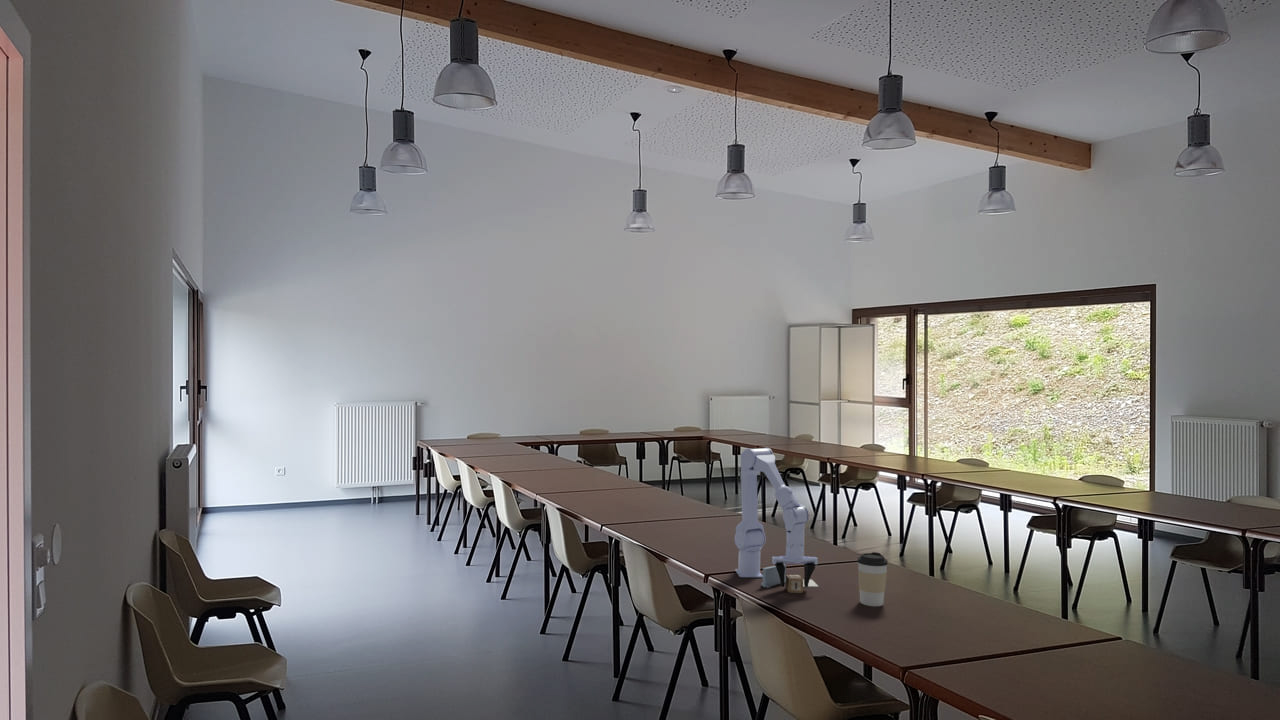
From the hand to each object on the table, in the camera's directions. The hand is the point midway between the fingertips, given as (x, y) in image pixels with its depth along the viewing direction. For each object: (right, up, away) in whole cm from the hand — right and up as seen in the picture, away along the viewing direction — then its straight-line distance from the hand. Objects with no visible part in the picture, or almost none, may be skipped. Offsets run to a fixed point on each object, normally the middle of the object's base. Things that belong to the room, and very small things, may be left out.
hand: (794, 586), depth 270 cm
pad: (+5, -2, +8) cm, 10 cm away
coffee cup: (+22, -2, -12) cm, 25 cm away
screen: (-5, -1, +7) cm, 9 cm away
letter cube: (0, -2, 0) cm, 2 cm away
